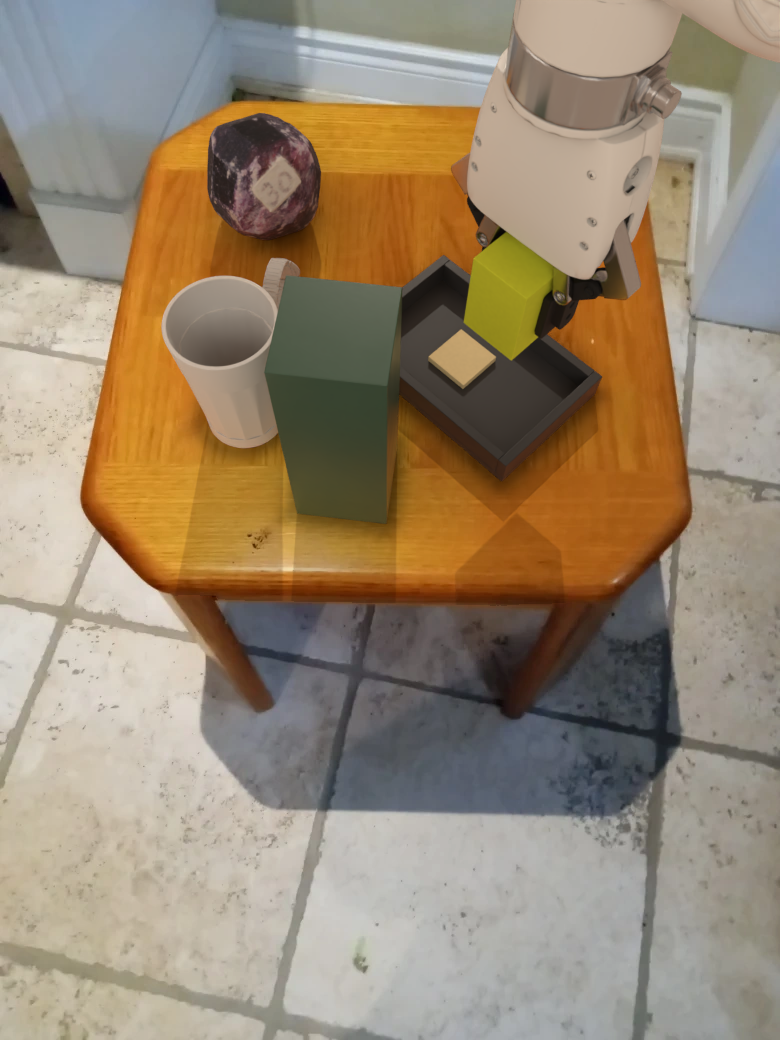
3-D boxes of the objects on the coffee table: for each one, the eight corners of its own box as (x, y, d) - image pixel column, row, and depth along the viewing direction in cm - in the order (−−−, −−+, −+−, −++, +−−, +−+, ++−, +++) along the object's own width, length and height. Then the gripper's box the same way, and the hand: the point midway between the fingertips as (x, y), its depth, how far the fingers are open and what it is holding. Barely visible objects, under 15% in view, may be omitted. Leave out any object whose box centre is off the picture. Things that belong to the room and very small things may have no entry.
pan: (595, 394, 68) (602, 376, 65) (501, 482, 64) (506, 466, 62) (441, 274, 73) (443, 254, 70) (347, 350, 69) (346, 331, 67)
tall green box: (397, 445, 66) (402, 286, 48) (386, 524, 63) (387, 386, 46) (311, 435, 66) (285, 274, 49) (296, 513, 63) (263, 372, 46)
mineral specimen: (200, 254, 71) (183, 133, 64) (230, 208, 79) (217, 95, 72) (311, 262, 71) (305, 140, 64) (330, 214, 78) (327, 101, 72)
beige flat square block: (495, 361, 68) (496, 356, 68) (462, 389, 67) (463, 385, 67) (460, 333, 70) (461, 328, 69) (427, 360, 68) (428, 356, 68)
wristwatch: (303, 290, 72) (298, 249, 67) (289, 335, 70) (282, 297, 65) (271, 284, 72) (264, 244, 68) (256, 329, 70) (247, 291, 66)
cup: (266, 471, 65) (243, 387, 54) (179, 434, 66) (138, 344, 55) (312, 394, 68) (299, 298, 57) (228, 360, 69) (199, 260, 58)
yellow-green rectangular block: (576, 303, 58) (599, 237, 52) (511, 361, 56) (527, 299, 50) (529, 267, 59) (545, 199, 53) (463, 322, 57) (473, 257, 51)
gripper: (772, 111, 39) (652, 343, 55) (506, -53, 43) (470, 207, 60) (676, 193, 36) (582, 410, 53) (407, 12, 41) (398, 263, 58)
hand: (523, 300), depth 56 cm, fingers closed on yellow-green rectangular block, 4 cm apart
